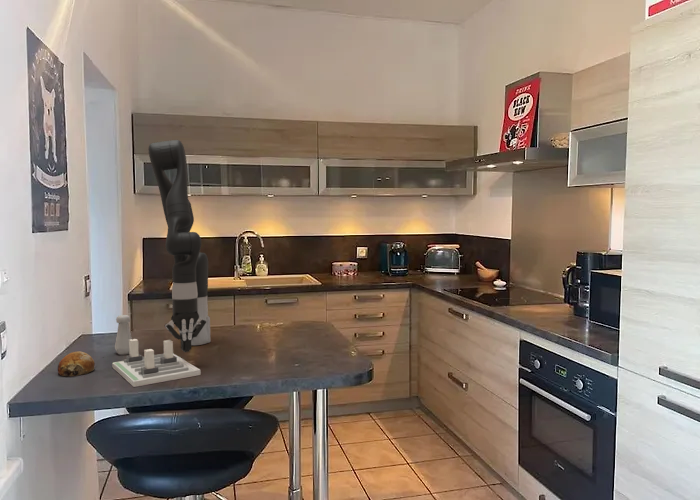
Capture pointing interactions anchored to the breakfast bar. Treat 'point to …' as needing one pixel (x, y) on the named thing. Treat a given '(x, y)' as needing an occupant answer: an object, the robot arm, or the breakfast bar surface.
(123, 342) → the salt shaker
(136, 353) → the breaker
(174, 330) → the robot arm
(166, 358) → the breaker
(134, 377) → the panel
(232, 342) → the breakfast bar surface
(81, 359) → the bread roll
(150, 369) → the breaker
